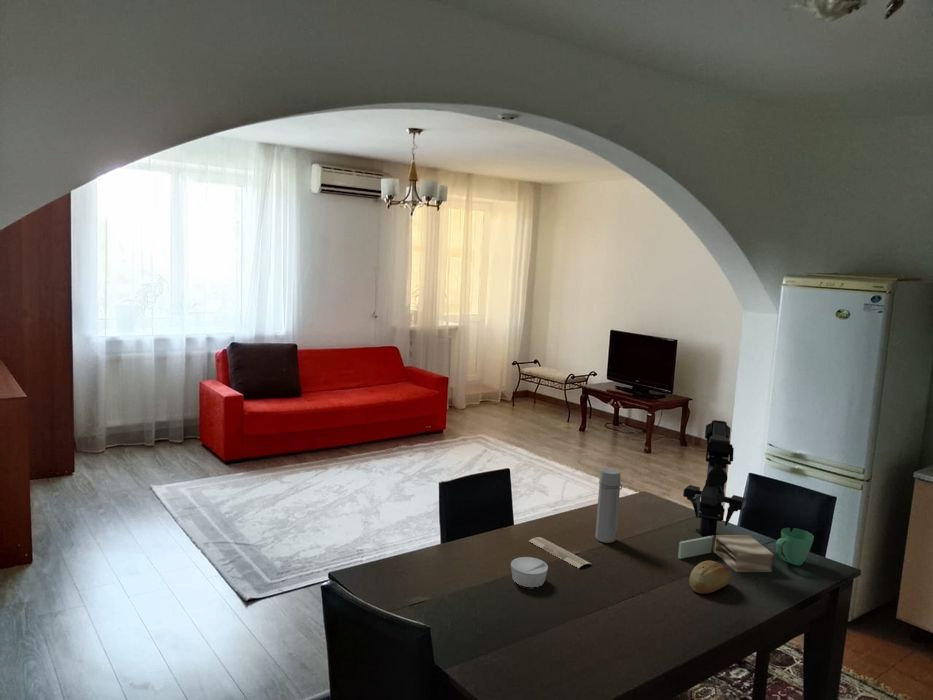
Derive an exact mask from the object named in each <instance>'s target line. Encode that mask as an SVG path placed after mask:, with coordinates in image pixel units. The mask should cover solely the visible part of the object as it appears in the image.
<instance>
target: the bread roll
mask: <svg viewBox="0 0 933 700" xmlns="http://www.w3.org/2000/svg"><path fill="white" fill-rule="evenodd" d="M730 579H731V574H730V571H729V568H728V567H727V566H726V565H725V564H723V563H720V562H718V561H714V560H704V561H702V562H699V563H698V564H697V565H696V566H694V568H693V569H692V570H691V573H690V574H689V586H690V587H691V589H692V590H693V591H694V592H695V593H697V594H701V595H702V594H703V595H704V594H711V593H714V592H716V591H718V590H721V589H722V588H724V587H726V586H727V585H728V584H729V582H730Z"/></svg>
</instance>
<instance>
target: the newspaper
mask: <svg viewBox="0 0 933 700" xmlns="http://www.w3.org/2000/svg"><path fill="white" fill-rule="evenodd" d="M529 542H531V543H533V544H534V545H533V544H532V545H533V546H535V545H536V546H535V547H537V546H538V547H540V548H542V549H544V550H545V551H544V550H543V551H544V552H546V551H547V552H546V553H548V552H549V553H550V555H551V554H552V555H551V556H553V555H554V556H553V557H555V556H556V557H555V558H557V557H558V558H557V559H559V558H560V559H559V560H561V559H562V560H564V561H566V562H568V563H569V564H568V563H567V564H568V565H570V564H571V565H570V566H572V565H573V566H575V567H577V568H578V569H577V568H576V569H577V570H580V568H581V567H582V566H584V565H589V564H590V565H589V566H591V565H592V564H593V563H591V562H590V561H587V560H586V559H584V558H581V557H580V556H577V555H576V554H574V553H572V552H570V551H568V550H567V549H565V548H562V547H560V546H559V545H557V544H555V543H553V542H552V541H549V540H547V539H546V538H544V537H541V536H536V537H533V538H531V539H529V540H528V543H529ZM531 543H530V544H531ZM538 547H537V548H538ZM540 548H539V549H540ZM542 549H541V550H542ZM549 553H548V554H549ZM562 560H561V561H562ZM564 561H563V562H564ZM566 562H565V563H566ZM573 566H572V567H573ZM575 567H574V568H575Z"/></svg>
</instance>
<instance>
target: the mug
mask: <svg viewBox="0 0 933 700" xmlns="http://www.w3.org/2000/svg"><path fill="white" fill-rule="evenodd" d="M814 538H815V536H814V535H813V533H811V532H809V531H807V530H803V529H800V528H795V527H793V528H792V530H791V528H790V527H784V528H781V531H780V538H778V539H776V542H775V552H776V554H777V555H778V557H779V558H780V559H781V560H782V561H785V562H787V563H788V564H790V565H794V566H802V565H803V563H804V562H805V560H806V558H807V557H808V555H809V553H810V551H811V548H812V544H813V542H814Z"/></svg>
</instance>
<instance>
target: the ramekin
mask: <svg viewBox="0 0 933 700" xmlns="http://www.w3.org/2000/svg"><path fill="white" fill-rule="evenodd" d="M510 568H511V576H512V577H511V578H512V580H514V581H513V582H514V583H515V582H516V583H517V584H519V585H522V586H525V587H537V588H539V586H540V587H542V586H543V585H544V583H545V581H546V578H547V573H548V571H549V566H548V564H547V563H546V562H545V561H543V560H542V559H539V558H536V557H531V556H522V557H521V556H520V557H517V558H515V559H513V560H511V562H510ZM516 583H515V584H516ZM517 584H516V585H517ZM519 585H518V586H519ZM525 587H524V588H525Z"/></svg>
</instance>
